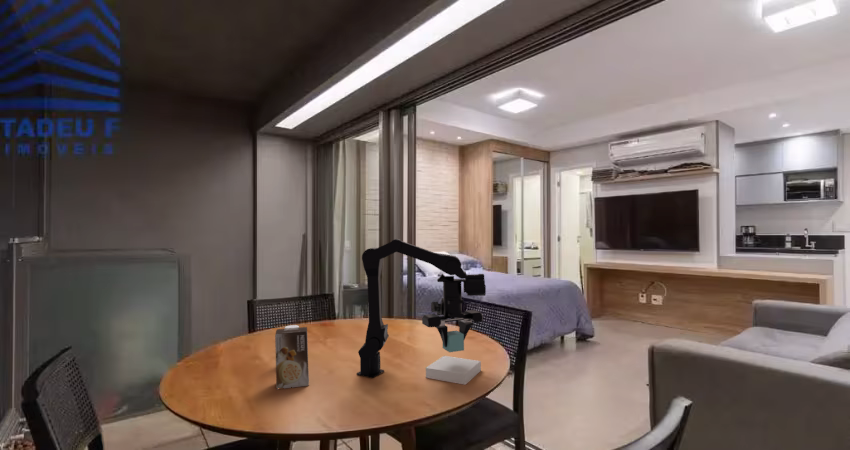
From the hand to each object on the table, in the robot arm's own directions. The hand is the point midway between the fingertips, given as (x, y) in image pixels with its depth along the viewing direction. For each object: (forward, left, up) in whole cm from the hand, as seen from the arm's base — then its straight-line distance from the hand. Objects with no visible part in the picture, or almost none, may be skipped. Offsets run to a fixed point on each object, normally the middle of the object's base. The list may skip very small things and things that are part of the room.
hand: (453, 345), depth 124 cm
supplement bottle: (-15, +54, -9) cm, 57 cm away
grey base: (0, 0, -9) cm, 9 cm away
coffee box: (-28, +40, -9) cm, 50 cm away
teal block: (0, 0, -1) cm, 1 cm away
